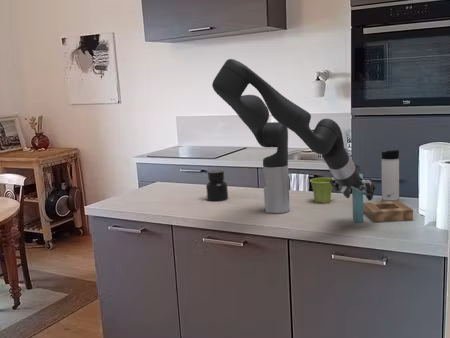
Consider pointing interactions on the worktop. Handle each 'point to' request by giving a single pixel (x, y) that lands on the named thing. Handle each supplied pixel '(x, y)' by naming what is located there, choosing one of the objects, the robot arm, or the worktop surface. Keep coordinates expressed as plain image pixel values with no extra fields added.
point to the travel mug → (390, 176)
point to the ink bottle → (216, 186)
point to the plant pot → (321, 189)
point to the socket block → (387, 211)
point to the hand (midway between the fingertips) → (359, 197)
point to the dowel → (357, 204)
